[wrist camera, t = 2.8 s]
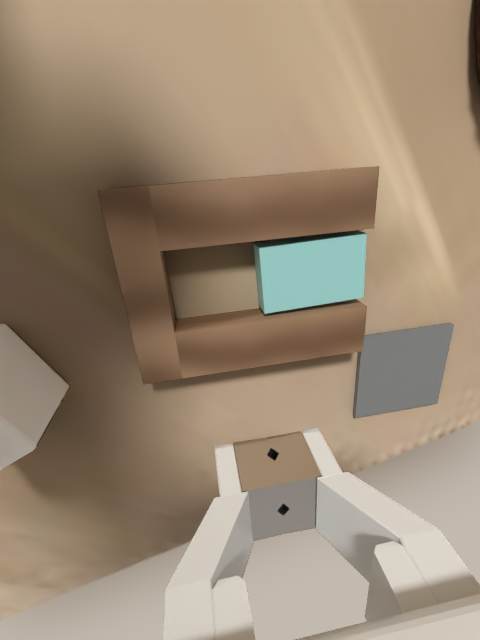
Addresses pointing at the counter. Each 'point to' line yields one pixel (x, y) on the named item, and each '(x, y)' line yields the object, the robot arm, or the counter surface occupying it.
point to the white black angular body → (24, 397)
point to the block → (310, 270)
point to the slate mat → (401, 369)
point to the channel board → (228, 228)
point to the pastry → (477, 37)
